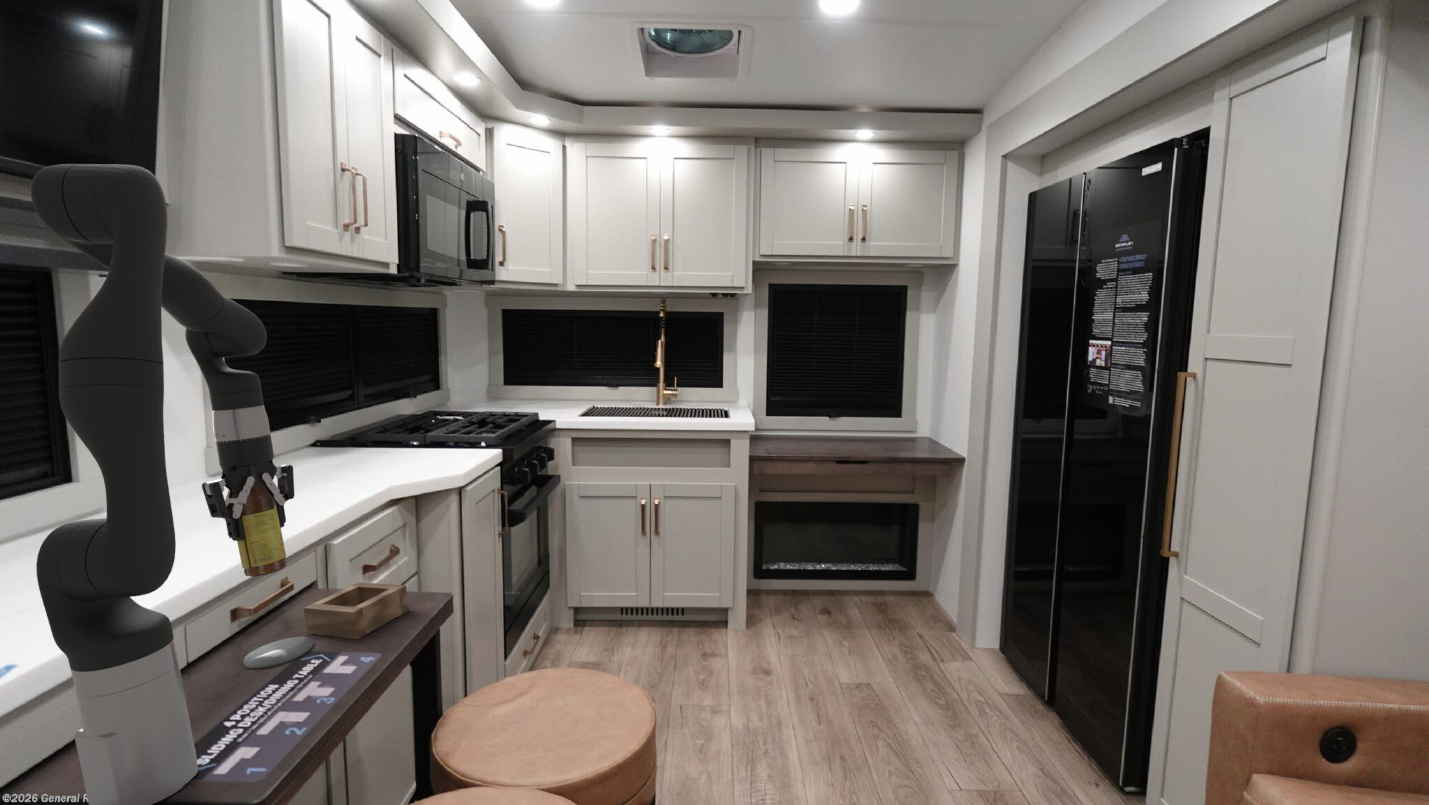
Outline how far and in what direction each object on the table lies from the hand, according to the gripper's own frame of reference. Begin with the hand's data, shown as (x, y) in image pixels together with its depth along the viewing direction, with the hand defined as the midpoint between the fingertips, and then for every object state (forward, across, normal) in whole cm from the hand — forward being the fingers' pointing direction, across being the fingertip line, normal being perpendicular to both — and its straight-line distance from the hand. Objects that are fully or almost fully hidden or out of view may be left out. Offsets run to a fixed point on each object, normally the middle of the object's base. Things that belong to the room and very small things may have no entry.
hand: (259, 533), depth 112 cm
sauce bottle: (+7, 0, 0) cm, 7 cm away
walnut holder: (+21, +13, -4) cm, 25 cm away
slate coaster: (+21, 0, 0) cm, 21 cm away
